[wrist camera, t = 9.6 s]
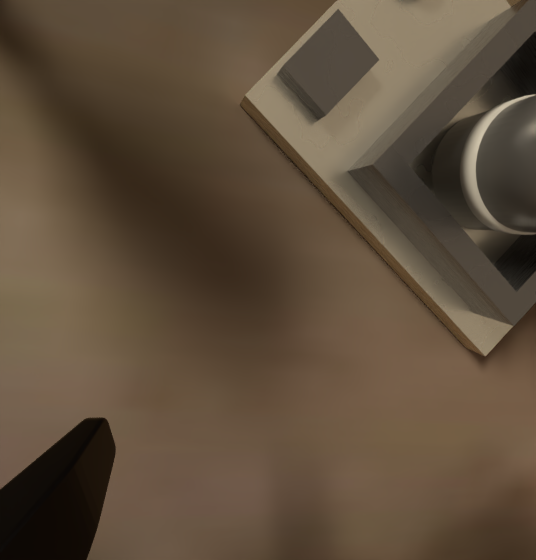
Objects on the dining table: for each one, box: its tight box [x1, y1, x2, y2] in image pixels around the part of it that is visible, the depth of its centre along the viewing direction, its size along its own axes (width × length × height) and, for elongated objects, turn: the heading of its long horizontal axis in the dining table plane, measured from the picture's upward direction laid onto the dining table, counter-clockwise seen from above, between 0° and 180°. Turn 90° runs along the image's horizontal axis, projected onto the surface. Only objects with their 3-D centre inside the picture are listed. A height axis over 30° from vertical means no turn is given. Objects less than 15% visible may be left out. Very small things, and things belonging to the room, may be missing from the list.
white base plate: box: [240, 0, 536, 356], centre depth 19 cm, size 11×16×4 cm
